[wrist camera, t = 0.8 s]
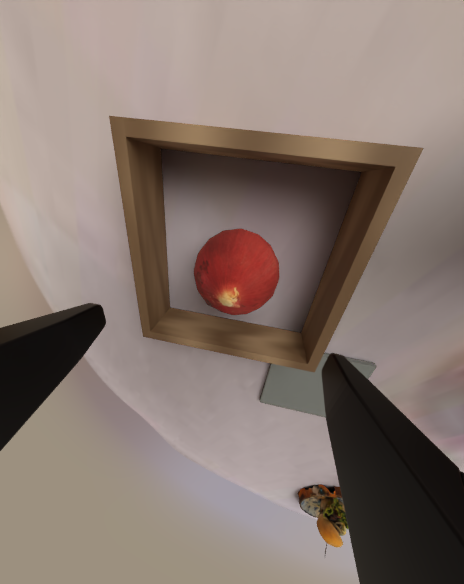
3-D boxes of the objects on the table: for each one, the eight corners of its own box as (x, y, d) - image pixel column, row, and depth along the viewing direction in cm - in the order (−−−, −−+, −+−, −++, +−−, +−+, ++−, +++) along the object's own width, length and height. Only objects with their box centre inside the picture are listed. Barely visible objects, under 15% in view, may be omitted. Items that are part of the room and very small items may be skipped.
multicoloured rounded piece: (343, 514, 40) (357, 578, 33) (288, 496, 40) (291, 556, 33) (380, 497, 34) (407, 571, 27) (315, 475, 34) (326, 544, 27)
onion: (230, 294, 19) (208, 357, 12) (197, 242, 17) (148, 281, 10) (287, 269, 17) (300, 328, 10) (257, 206, 15) (247, 225, 8)
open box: (380, 158, 12) (423, 147, 9) (306, 340, 20) (314, 372, 17) (149, 133, 14) (109, 115, 10) (163, 312, 21) (143, 336, 18)
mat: (374, 362, 20) (376, 366, 20) (337, 416, 25) (338, 420, 24) (277, 343, 21) (277, 346, 20) (260, 398, 26) (259, 402, 25)
